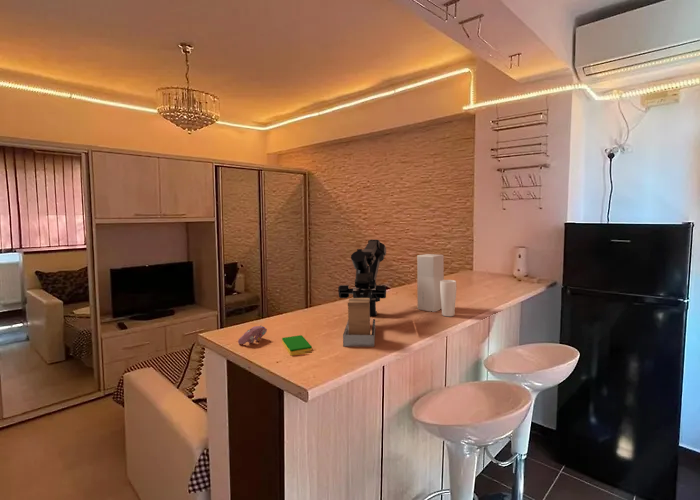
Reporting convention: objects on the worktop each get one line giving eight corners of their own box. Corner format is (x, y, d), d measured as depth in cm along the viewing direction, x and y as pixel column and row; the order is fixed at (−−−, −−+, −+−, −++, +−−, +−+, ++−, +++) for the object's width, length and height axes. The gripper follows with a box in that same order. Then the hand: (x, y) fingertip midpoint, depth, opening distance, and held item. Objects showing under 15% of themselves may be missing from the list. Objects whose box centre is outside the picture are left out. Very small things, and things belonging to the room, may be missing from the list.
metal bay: (348, 330, 148) (348, 319, 148) (375, 331, 147) (375, 319, 147) (343, 348, 128) (342, 335, 128) (374, 348, 128) (373, 335, 127)
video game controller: (244, 351, 133) (250, 334, 131) (236, 343, 135) (241, 326, 133) (264, 342, 142) (270, 327, 140) (256, 335, 144) (262, 320, 142)
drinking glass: (456, 317, 164) (456, 282, 162) (440, 317, 165) (440, 282, 164) (455, 313, 170) (455, 279, 169) (439, 313, 172) (439, 279, 170)
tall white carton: (417, 309, 180) (416, 255, 178) (427, 305, 186) (427, 253, 184) (434, 312, 174) (433, 256, 172) (444, 308, 180) (443, 254, 178)
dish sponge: (290, 357, 123) (290, 349, 123) (282, 344, 136) (281, 337, 136) (312, 353, 126) (312, 346, 125) (302, 341, 139) (301, 334, 138)
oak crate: (350, 336, 139) (349, 297, 137) (370, 336, 138) (369, 297, 137) (348, 343, 131) (347, 302, 130) (369, 343, 131) (369, 302, 130)
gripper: (338, 265, 153) (335, 298, 143) (386, 265, 152) (386, 299, 142) (340, 281, 162) (338, 314, 152) (385, 281, 160) (386, 314, 151)
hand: (361, 310), depth 149 cm, fingers closed
